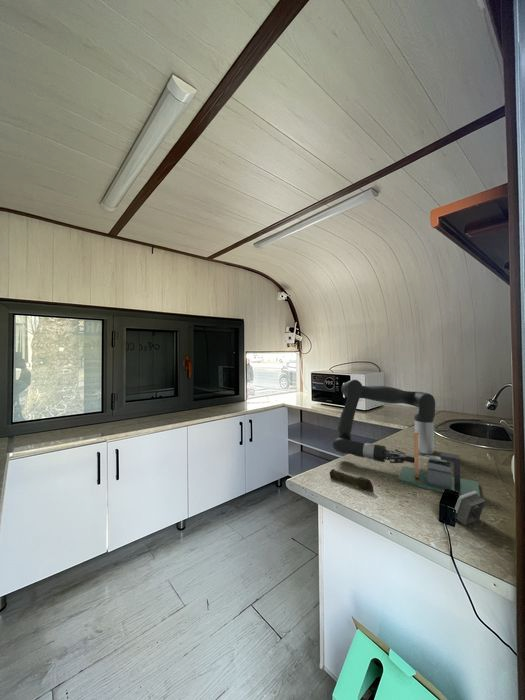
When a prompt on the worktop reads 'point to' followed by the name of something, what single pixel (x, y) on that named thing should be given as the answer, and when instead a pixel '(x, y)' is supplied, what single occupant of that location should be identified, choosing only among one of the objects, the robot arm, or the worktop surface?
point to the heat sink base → (440, 476)
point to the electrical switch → (469, 507)
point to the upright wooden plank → (421, 455)
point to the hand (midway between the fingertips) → (415, 460)
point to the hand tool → (352, 480)
